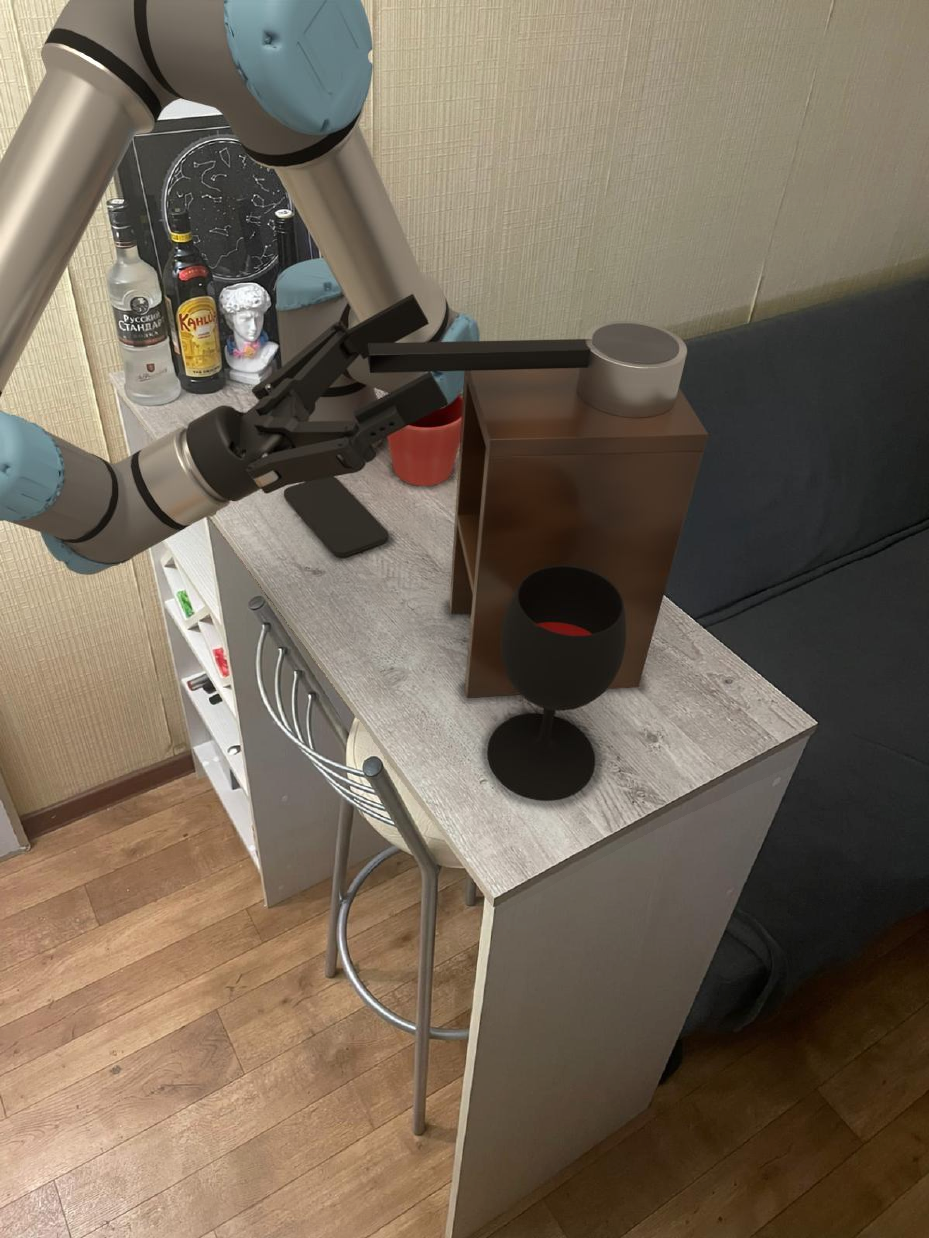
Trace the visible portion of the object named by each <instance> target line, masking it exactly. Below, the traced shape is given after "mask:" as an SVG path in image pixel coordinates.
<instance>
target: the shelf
mask: <svg viewBox="0 0 929 1238" xmlns="http://www.w3.org/2000/svg"><path fill="white" fill-rule="evenodd" d="M464 372H465V373H464V386H463V389H462V398H463V402H462V417H461V432H460V444H459V447H458V450H459V451H458V464H457V466H458V467H457V479H456V480H457V481H456V494H455V495H456V496H455V498H456V499H455V512H454V526H453V543H452V557H451V570H450V571H451V573H450V588H449V601H448V606H449V612H450V614H451V615H461V614H462V615H463V614H470V623H469V637H468V645H467V647H468V648H467V659H466V670H465V683H464V689H465V690H464V691H465V695H466V698H467V699H469V698H484V697H499V696H515V695H517V696H518V695H521V694H520V693H519V692H518V691H517V690H516V689H515V687H514V686H513V685H512V684H511V682H510V680H509V678H508V677H507V675H506V673H505V670H504V667H503V663H502V659H501V651H500V637H501V629H502V624H503V620H504V617H505V614H506V611H507V608H508V606H509V603H510V601H511V599H512V597H513V595H514V593H515V591H516V589H517V588H518V586H519V584H520V583H521V582H522V580H523V579H524V578H525V577H526V576H527V575H529V574H530V573H532V572H534V571H536V570H538V569H541V568H544V567H549V566H558V565H566V566H576V567H580V568H585V569H588V570H590V571H593V572H595V573H598V574H600V575H601V576H603V577H605V578H606V579H607V580H609V581H610V582H611V583H612V584H613V585H614V586H615V587H616V588H617V589H618V591H619V592H620V594H621V596H622V599H623V603H624V609H625V616H626V645H625V651H624V656H623V660H622V663H621V666H620V669H619V671H618V673H617V675H616V677H615V678H614V680H613V682H612V683H611V684H610V686H609V687H608V688H607V690H610V689H624V688H627V689H628V688H638V687H639V686H640V683H641V679H642V675H643V672H644V669H645V666H646V665H645V664H646V661H647V657H648V654H649V650H650V646H651V643H652V639H653V635H654V633H655V628H656V625H657V621H658V617H659V615H660V610H661V606H662V603H663V600H664V597H665V593H666V589H667V586H668V581H669V578H670V574H671V571H672V567H673V563H674V559H675V556H676V552H677V549H678V545H679V541H680V538H681V534H682V531H683V527H684V523H685V520H686V517H687V513H688V510H689V506H690V502H691V498H692V495H693V491H694V487H695V484H696V480H697V478H698V477H697V476H698V473H699V470H700V466H701V462H702V459H703V455H704V451H705V448H706V445H707V442H708V438H709V433H708V432H707V430H706V428H705V427H704V425H703V424H702V422H701V420H700V418H699V417H698V416H697V414H696V412H695V411H694V409H693V408H692V406H691V405H690V403H689V401H688V400H687V398H686V396H685V395H684V393H683V392H682V390H681V389H680V387H679V388H678V392H677V396H676V400H675V403H674V405H673V407H672V408H671V409H669V410H668V411H667V412H665V413H662V414H660V415H656V416H652V417H643V418H631V417H622V416H617V415H612V414H609V413H606V412H603V411H600V410H598V409H596V408H594V407H592V406H590V405H589V404H587V403H586V402H585V401H584V400H583V399H582V398H581V397H580V395H579V394H578V391H577V381H578V375H579V368H556V369H516V370H475V371H464Z"/></svg>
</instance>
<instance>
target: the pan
mask: <svg viewBox="0 0 929 1238" xmlns="http://www.w3.org/2000/svg"><path fill="white" fill-rule="evenodd" d="M583 337H584V338H567V339H516V340H515V339H513V340H510V339H509V340H479V341H459V342H408V343H368V364H369V370H370V373H394V372H435V371H475V370H516V369H556V368H579V375H578V381H577V391H578V394H579V395H580V397H581V398H582V399H583V400H584V401H585V402H586V403H587V404H589V405H590V406H592V407H594V408H596V409H598V410H600V411H603V412H606V413H609V414H612V415H617V416H622V417H631V418H643V417H652V416H656V415H660V414H662V413H665V412H667V411H668V410H669V409H671V408H672V407H673V405H674V403H675V400H676V396H677V392H678V388H679V389H680V384H681V380H682V379H681V378H682V375H683V372H684V371H683V370H684V366H685V363H686V358H687V355H688V348H687V345H686V343H685V342H684V341H683V339H682V338H681V337H679V336H678V335H677V334H675V333H673V332H672V331H670V330H667V329H665V328H663V327H661V326H657V325H655V324H651V323H646V322H642V321H633V320H613V321H607V322H602V323H599V324H596V325H594V326H592V327H591V328H589V329H588V330H587V331H586V332H585V334H584V336H583Z"/></svg>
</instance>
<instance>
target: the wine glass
mask: <svg viewBox="0 0 929 1238" xmlns="http://www.w3.org/2000/svg"><path fill="white" fill-rule="evenodd" d="M625 645H626V616H625V609H624V603H623V599H622V596H621V594H620V592H619V591H618V589H617V588H616V587H615V586H614V585H613V584H612V583H611V582H610V581H609V580H607V579H606V578H605V577H603V576H601V575H600V574H598V573H595V572H593V571H590V570H588V569H585V568H580V567H576V566H566V565H558V566H549V567H544V568H541V569H538V570H536V571H534V572H532V573H530V574H529V575H527V576H526V577H525V578H524V579H523V580H522V582H521V583H520V584H519V586H518V588H517V589H516V591H515V593H514V595H513V597H512V599H511V601H510V603H509V606H508V608H507V611H506V614H505V617H504V620H503V624H502V629H501V637H500V651H501V659H502V663H503V667H504V670H505V673H506V675H507V677H508V678H509V680H510V682H511V684H512V685H513V686H514V687H515V689H516V690H517V691H518V692H519V693H520V694H519V695H520V696H522V697H523V698H524V699H525V700H527V701H528V702H530V703H531V704H533V705H535V706H537V707H539V708H542V712H530V713H523V714H519V715H516V716H513V717H510V718H509V719H506V720H505V721H504V722H502V723H500V724H499V725H498V726H497V727H496V729H495V730H494V731H493V732H492V734H491V736H490V738H489V740H488V742H487V743H488V745H487V750H486V753H487V761H488V766H489V767H490V770H491V772H492V774H493V775H494V776H495V778H496V779H497V780H498V781H499V782H500V783H501V784H502V785H503V786H505V787H506V788H507V789H508V790H510V791H511V792H513V793H515V794H517V795H520V796H521V797H524V798H527V799H532V800H536V801H556V800H562V799H566V798H568V797H571V796H572V795H575V794H576V793H578V792H580V791H582V790H583V788H584V787H586V786H587V785H588V783H589V782H590V780H591V779H592V776H593V774H594V772H595V766H596V755H595V749H594V748H593V747H594V746H593V744H592V742H591V741H590V739H589V738H588V737H587V735H586V734H585V733H584V732H583V731H582V730H581V729H580V728H579V727H577V725H575V724H573V723H572V722H571V721H568V720H567V719H564V718H563V717H559V716H556V712H557V711H559V712H564V711H571V710H576V709H579V708H581V707H585V706H586V705H588V704H591V703H592V702H593V701H595V700H596V699H598V698H599V697H600V696H601V695H603V694H604V693H605V692H606V691H607V690H608V689H607V688H608V687H609V686H610V684H611V683H612V682H613V680H614V678H615V677H616V675H617V673H618V671H619V669H620V666H621V663H622V660H623V656H624V651H625Z"/></svg>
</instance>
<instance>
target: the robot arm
mask: <svg viewBox="0 0 929 1238" xmlns="http://www.w3.org/2000/svg"><path fill="white" fill-rule="evenodd" d="M372 50H373V38H372V31H371V27H370V22H369V19H368V15H367V12H366V9H365V7H364V4H363V1H362V0H68V1H67V3H66V4H65V6H64V7H63V9H62V10H61V12H60V14H59V16H58V17H57V19H56V21H55V23H54V25H53V27H51V30H50V31H49V34H48V35H47V37H46V40H45V42H44V43H43V46H42V48H41V50H40V57H41V60H42V63H43V67H44V69H45V74H44V76H43V78H42V80H41V81H40V84H39V85H38V88H37V90H36V92H35V93H34V95H33V97H32V99H31V102H30V103H29V105H28V107H27V109H26V111H25V113H24V115H23V116H22V119H21V121H20V123H19V125H18V126H17V128H16V131H15V133H14V135H13V136H12V139H11V140H10V142H9V145H8V146H7V148H6V150H5V152H4V154H3V156H2V158H1V160H0V398H1V397H2V395H3V392H4V389H5V387H6V386H7V384H8V382H9V380H10V379H11V376H12V374H13V372H14V371H15V368H16V366H17V365H18V362H19V360H20V359H21V356H22V355H23V352H24V351H25V349H26V347H27V345H28V343H29V342H30V339H31V337H32V335H33V333H34V331H35V330H36V327H37V326H38V323H39V322H40V320H41V317H42V315H43V314H44V312H45V310H46V308H47V306H48V305H49V302H50V300H51V298H52V297H53V295H54V292H55V291H56V288H57V286H58V285H59V282H60V281H61V279H62V277H63V275H64V273H65V271H66V269H67V267H68V265H69V263H70V261H71V260H72V257H73V255H74V253H75V252H76V250H77V248H78V246H79V244H80V242H81V240H82V238H83V236H84V234H85V232H86V230H87V228H88V226H89V224H90V223H91V221H92V218H93V216H94V215H95V213H96V210H97V209H98V207H99V205H100V203H101V201H102V199H103V197H104V195H105V193H106V192H107V189H108V188H109V186H110V183H111V182H112V179H113V178H114V175H115V173H116V172H117V170H118V168H119V167H120V164H121V162H122V161H123V158H124V156H125V154H126V152H127V150H128V149H129V147H130V145H131V143H132V142H133V141H132V140H133V139H134V137H135V136H136V135H142V134H148V133H151V132H152V131H153V129H154V127H155V125H156V124H157V122H158V120H159V118H160V116H161V114H162V113H163V111H164V109H165V108H166V107H168V106H169V105H170V104H172V103H173V102H175V101H177V100H184V101H187V102H192V103H195V104H200V105H202V106H207V107H211V108H214V109H216V110H217V111H219V113H221V114H222V116H223V117H224V119H225V120H226V122H227V124H228V126H229V127H230V129H231V131H232V133H233V134H234V136H235V137H236V139H237V141H238V142H239V144H240V146H241V148H242V149H243V151H244V152H245V154H246V155H247V156H248V157H249V158H250V159H251V161H253V162H254V163H256V164H258V165H259V166H262V167H264V168H268V169H273V170H274V171H275V174H276V175H277V177H278V178H279V180H280V182H281V184H282V186H283V187H284V189H285V191H286V193H287V195H288V196H289V198H290V201H292V204H293V206H294V207H295V209H296V211H297V213H298V214H299V216H300V218H301V220H302V221H303V224H304V225H305V228H306V229H307V230H308V232H309V235H310V236H311V238H312V239H313V242H314V244H315V246H316V247H317V249H318V251H319V252H320V254H321V256H322V257H319V258H312V259H308V260H304V261H300V262H298V263H295V264H293V265H291V266H289V267H287V268H285V269H284V270H283V271H282V272H281V273H280V274H279V276H278V278H277V280H276V284H275V285H276V287H275V288H276V289H275V290H276V291H275V292H276V303H275V305H274V306H275V311H276V319H277V321H276V322H277V330H278V331H277V332H278V338H279V350H280V359H281V360H280V361H281V367H280V368H278V370H277V371H275V372H274V373H273V374H272V375H270V376H269V377H267V378H265V379H264V380H262V381H261V382H259V383H257V384H255V386H253V387H252V389H251V393H252V394H253V395H254V397H255V398H256V400H257V401H258V402H257V403H256V404H254V406H252V407H251V408H249V409H248V410H247V411H245V412H242V411H240V410H237V409H235V408H234V407H232V406H230V405H223V404H222V405H218V406H216V407H214V408H213V409H211V410H210V411H207V412H206V413H204V414H202V415H200V416H199V417H197V418H195V419H194V420H191V421H190V422H189V423H188V425H187V427H186V426H181V427H177V428H176V429H174V430H172V431H170V432H169V433H167V434H165V435H164V436H162V437H160V438H158V439H157V440H155V441H153V442H152V443H150V444H148V445H146V446H144V447H143V448H141V449H140V450H138V451H136V452H134V453H132V454H131V455H129V456H127V457H125V458H123V459H121V460H119V461H117V462H114V463H111V462H109V461H107V460H105V459H104V458H102V457H100V456H98V455H96V454H94V453H92V452H91V453H90V452H88V451H86V450H84V449H82V448H81V447H78V446H77V445H75V444H73V443H71V442H69V441H68V440H65V439H64V438H61V437H59V436H57V435H56V434H54V433H52V432H49V431H47V430H46V429H44V427H42V426H40V425H39V424H37V423H36V422H31V421H28V420H27V419H26V418H23V417H21V416H19V415H15V414H10V413H7V412H6V411H4V410H1V409H0V522H3V521H5V522H8V523H12V524H14V525H17V526H20V527H24V528H27V529H30V530H33V531H35V532H39V533H40V536H41V538H42V541H43V543H44V545H45V547H46V548H47V550H48V551H49V553H50V554H51V555H52V557H54V558H55V560H57V562H63V563H64V565H65V567H66V568H67V569H68V570H69V571H71V572H73V573H76V574H79V575H82V576H83V575H84V576H91V575H96V574H99V573H101V572H104V571H106V570H107V569H109V568H112V567H117V566H119V565H120V564H125V563H126V562H128V561H131V560H132V559H133V558H134V557H136V556H138V555H140V554H141V553H143V552H145V551H147V550H149V549H151V548H153V547H154V546H156V545H158V544H160V543H161V542H163V541H165V540H167V539H169V538H170V537H173V536H174V535H176V534H178V533H180V532H181V531H184V530H185V529H186V528H188V527H190V526H192V525H193V524H195V523H197V522H199V521H202V520H203V519H206V518H207V517H208V518H209V517H215V515H217V513H218V511H221V510H222V509H224V508H226V507H228V506H229V504H230V503H231V502H239V501H241V500H242V499H244V498H246V497H249V496H251V495H252V494H254V493H256V492H257V491H260V490H262V492H263V493H264V494H265V495H267V494H271V493H272V492H275V491H277V490H279V489H281V488H284V487H287V486H290V485H297V484H300V483H303V482H307V481H312V480H317V479H323V478H328V477H333V476H334V477H339V476H344V475H349V474H354V473H358V472H360V471H362V470H363V469H364V468H365V467H366V465H367V463H371V462H372V461H374V460H375V459H376V457H377V456H378V453H377V451H376V450H375V449H376V448H378V447H379V446H380V445H381V444H382V442H383V440H384V439H385V438H387V436H389V435H391V434H392V433H394V432H396V431H398V430H400V429H402V428H404V427H406V426H408V425H410V424H412V423H414V422H415V421H417V420H419V419H421V418H423V417H425V416H427V415H429V414H431V413H433V412H435V411H436V410H438V409H442V408H444V407H446V406H447V405H449V404H451V403H452V402H453V401H454V400H455V399H456V398H457V396H458V395H460V394H461V392H463V386H464V373H465V372H464V371H435V372H394V373H370V370H369V364H368V343H408V342H459V341H480V327H479V324H478V322H477V320H476V319H475V318H474V317H471V316H470V315H468V314H467V313H466V312H464V311H461V312H458V311H456V310H453V309H452V308H451V307H450V305H449V303H448V300H447V298H446V295H445V292H444V290H443V289H442V287H441V286H440V284H439V283H438V282H437V280H436V279H434V278H433V276H431V275H430V274H428V273H425V272H423V271H421V270H420V268H419V265H418V263H417V260H416V258H415V256H414V253H413V251H412V249H411V246H410V244H409V242H408V239H407V237H406V234H405V232H404V230H403V227H402V224H401V222H400V220H399V218H398V215H397V213H396V210H395V208H394V205H393V203H392V201H391V198H390V196H389V193H388V191H387V189H386V186H385V184H384V182H383V181H384V180H383V179H382V176H381V174H380V171H379V170H378V167H377V165H376V163H375V160H374V158H373V155H372V153H371V150H370V147H369V146H368V143H367V141H366V138H365V136H364V133H363V131H362V129H361V126H360V121H361V119H362V116H363V113H364V110H365V109H364V108H365V102H366V101H367V98H368V94H369V91H370V87H371V83H372V77H373V70H374V64H373V62H371V61H370V60H369V55H370V52H371V51H372ZM375 389H377V390H379V391H381V392H385V393H387V394H385V395H383V396H381V397H379V398H378V395H377V393H376V391H375Z"/></svg>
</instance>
